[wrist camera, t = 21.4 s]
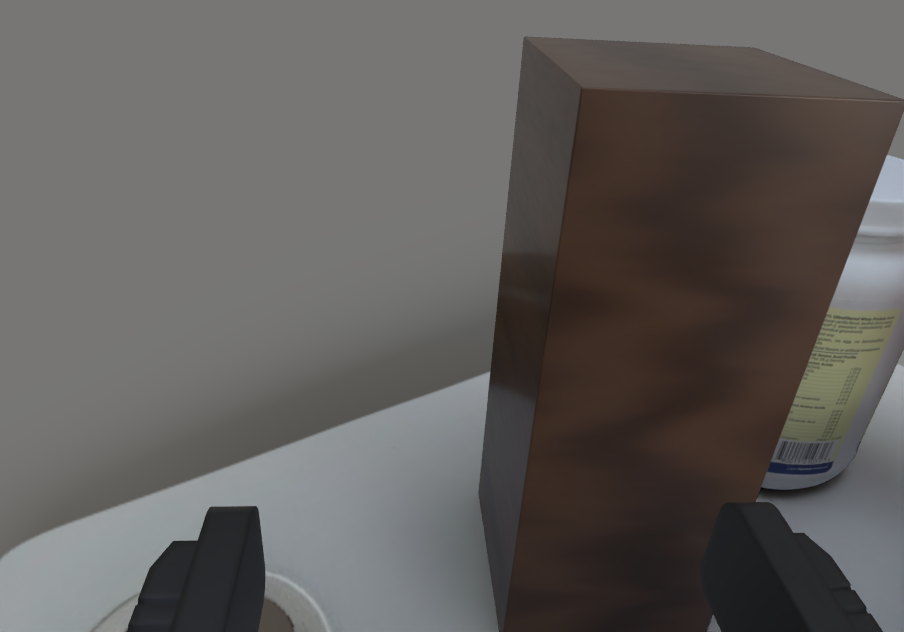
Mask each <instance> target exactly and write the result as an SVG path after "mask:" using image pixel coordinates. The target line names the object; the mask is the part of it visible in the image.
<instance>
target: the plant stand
mask: <svg viewBox="0 0 904 632" xmlns="http://www.w3.org/2000/svg"><path fill="white" fill-rule="evenodd" d="M903 111H904V99H901V98H898V97H895V96H892V95H889V94H887V93H884V92H881V91H878V90H875V89H872V88H869V87H866V86H864V85H860V84H858V83H855V82H852V81H849V80H846V79H843V78H840V77H837V76H834V75H832V74H829V73H826V72H823V71H820V70H817V69H814V68H812V67H809V66H806V65H803V64H800V63H797V62H794V61H791V60H788V59H786V58H783V57H780V56H777V55H774V54H771V53H768V52H765V51H763V50H760V49H756V48H750V47H730V46H709V45H687V44H666V43H647V42H625V41H604V40H584V39H562V38H542V37H524V41H523V51H522V61H521V71H520V82H519V92H518V102H517V112H516V122H515V132H514V142H513V152H512V162H511V172H510V182H509V192H508V202H507V212H506V223H505V233H504V242H503V252H502V263H501V272H500V283H499V293H498V303H497V312H496V313H497V314H496V322H495V332H494V343H493V353H492V363H491V373H490V383H489V393H488V403H487V413H486V423H485V433H484V443H483V453H482V463H481V473H480V483H479V498H480V505H481V512H482V519H483V525H484V532H485V539H486V545H487V552H488V559H489V566H490V572H491V579H492V586H493V593H494V599H495V606H496V613H497V619H498V626H499V632H706V631H707V628H708V626H709V623H710V620H711V618H712V615H713V612H712V610H711V608H710V606H709V603H708V601H707V599H706V596H705V594H704V590H703V586H702V580H701V564H702V560H703V557H704V554H705V551H706V548H707V545H708V543H709V540H710V537H711V534H712V531H713V529H714V526H715V523H716V520H717V517H718V515H719V512H720V509H721V507H722V506H723V505H724V504H725V503H744V502H756V499H757V497H758V494H759V491H760V489H761V486H762V483H763V481H764V478H765V475H766V473H767V470H768V468H769V465H770V462H771V460H772V457H773V454H774V452H775V449H776V446H777V444H778V441H779V439H780V436H781V433H782V431H783V428H784V425H785V423H786V420H787V417H788V415H789V412H790V410H791V407H792V404H793V402H794V399H795V396H796V394H797V391H798V388H799V386H800V383H801V381H802V378H803V375H804V373H805V370H806V367H807V365H808V362H809V359H810V357H811V354H812V352H813V349H814V346H815V344H816V341H817V338H818V336H819V333H820V330H821V328H822V325H823V322H824V320H825V317H826V315H827V312H828V309H829V307H830V304H831V301H832V299H833V296H834V293H835V291H836V288H837V286H838V283H839V280H840V278H841V275H842V272H843V270H844V267H845V264H846V262H847V259H848V257H849V254H850V251H851V249H852V246H853V243H854V241H855V238H856V235H857V233H858V230H859V228H860V225H861V222H862V220H863V217H864V214H865V212H866V209H867V206H868V204H869V201H870V199H871V196H872V193H873V191H874V188H875V185H876V183H877V180H878V177H879V175H880V172H881V170H882V167H883V164H884V162H885V159H886V156H887V153H888V151H889V148H890V146H891V143H892V140H893V138H894V135H895V133H896V130H897V127H898V125H899V122H900V119H901V117H902V114H903Z"/></svg>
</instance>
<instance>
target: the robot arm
mask: <svg viewBox="0 0 904 632" xmlns="http://www.w3.org/2000/svg"><path fill="white" fill-rule="evenodd" d="M701 580H702V586H703V590H704V594H705V596H706V599H707V601H708V603H709V606H710V608H711V610H712V612H713V614H714V616H715V619H716V621H717V623H718V625H719V627H720V629H721V632H883V631H882V630H881V628H880V627H879V625H878V624H877V622H876V621H875V619H874V618H873V616H872V615H871V614H868V613H867V611H866V606H865V605H864V603H863V602H862V600H861V599H860V598H859V596H858V595H857V593H856V592H855V590H851V587H850V585H851V584H850V583H849V582H848V580H847V579H846V577H845V576H844V574H843V573H842V571H841V570H840V568H839V567H838V566H837V564H836V563H835V561H834V560H833V558H832V557H831V556H830V555H829V554H828V553H826V552H825V551H824V550H823V549H822V548H821V547H819V546H818V545H817V544H816V543H815V542H814V541H813V540H811V539H810V538H809V537H808V536H807V535H806V534H804V533H793V531H792V530H791V528H790V527H789V525H788V524H787V522H786V521H785V519H784V518H783V516H782V515H781V513H780V511H779V510H778V509H777V508H776V507H775V506H774V505H773V504H771V503H769V502H744V503H725V504H724V505H723V506H722V507H721V509H720V512H719V515H718V517H717V520H716V523H715V526H714V529H713V531H712V534H711V537H710V540H709V543H708V545H707V548H706V551H705V554H704V557H703V560H702V564H701ZM264 593H265V562H264V553H263V545H262V536H261V527H260V518H259V511H258V508H257V507H256V506H237V507H210V508H209V510H208V511H207V514H206V516H205V520H204V523H203V526H202V529H201V532H200V535H199V539H198V541H173V542H172V543H171V544H170V545H169V547H168V548H167V549H166V550H165V551H164V552H163V553H162V555H161V556H160V557H159V558H158V559H157V560H156V562H155V563H154V564H153V565H152V566H151V567H150V569H149V571H148V574H147V577H146V579H145V582H144V585H143V587H142V590H141V593H140V595H139V598H138V605H136V606H135V609H134V611H133V614H132V617H131V619H130V622H129V625H128V631H127V632H258V629H259V623H260V618H261V613H262V608H263V602H264Z"/></svg>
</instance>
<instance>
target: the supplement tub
mask: <svg viewBox="0 0 904 632" xmlns="http://www.w3.org/2000/svg"><path fill="white" fill-rule="evenodd" d="M903 350H904V160H902V159H899V158H896V157H893V156H889V155H887V156H886V159H885V162H884V164H883V167H882V170H881V172H880V175H879V177H878V180H877V183H876V185H875V188H874V191H873V193H872V196H871V199H870V201H869V204H868V206H867V209H866V212H865V214H864V217H863V220H862V222H861V225H860V228H859V230H858V233H857V235H856V238H855V241H854V243H853V246H852V249H851V251H850V254H849V257H848V259H847V262H846V264H845V267H844V270H843V272H842V275H841V278H840V280H839V283H838V286H837V288H836V291H835V293H834V296H833V299H832V301H831V304H830V307H829V309H828V312H827V315H826V317H825V320H824V322H823V325H822V328H821V330H820V333H819V336H818V338H817V341H816V344H815V346H814V349H813V352H812V354H811V357H810V359H809V362H808V365H807V367H806V370H805V373H804V375H803V378H802V381H801V383H800V386H799V388H798V391H797V394H796V396H795V399H794V402H793V404H792V407H791V410H790V412H789V415H788V417H787V420H786V423H785V425H784V428H783V431H782V433H781V436H780V439H779V441H778V444H777V446H776V449H775V452H774V454H773V457H772V460H771V462H770V465H769V468H768V470H767V473H766V475H765V478H764V481H763V483H762V486H761V487H763V488H769V489H778V490H789V489H800V488H806V487H811V486H815V485H818V484H821V483H824V482H826V481H828V480H830V479H832V478H833V477H835V476H836V475H838V474H839V473H840V472H842V471H843V470H844V469H845V468H846V467H847V466H848V464H849V463H850V462H851V461H852V460H853V458H854V457H855V455H856V453H857V451H858V447H859V445H860V443H861V440H862V438H863V436H864V434H865V431H866V429H867V427H868V425H869V423H870V421H871V419H872V417H873V414H874V412H875V410H876V408H877V406H878V404H879V402H880V399H881V397H882V395H883V393H884V391H885V389H886V387H887V384H888V382H889V380H890V378H891V376H892V373H893V371H894V369H895V367H896V365H897V363H898V360H899V358H900V356H901V354H902V351H903Z"/></svg>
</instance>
